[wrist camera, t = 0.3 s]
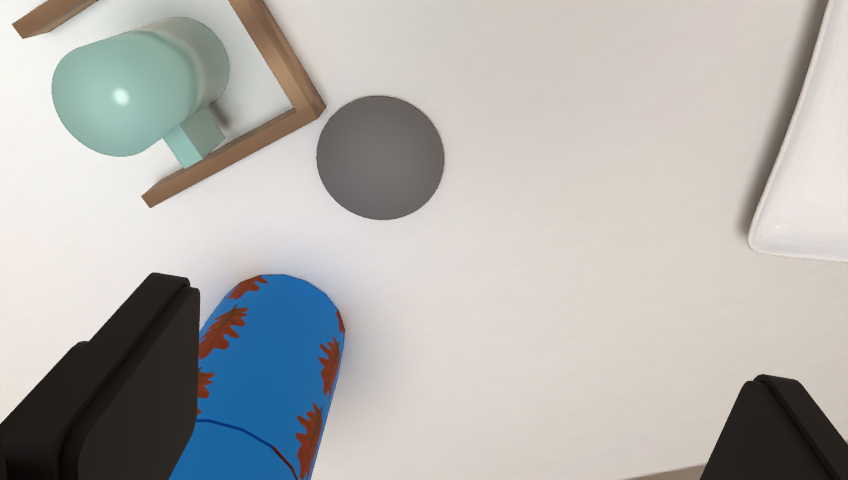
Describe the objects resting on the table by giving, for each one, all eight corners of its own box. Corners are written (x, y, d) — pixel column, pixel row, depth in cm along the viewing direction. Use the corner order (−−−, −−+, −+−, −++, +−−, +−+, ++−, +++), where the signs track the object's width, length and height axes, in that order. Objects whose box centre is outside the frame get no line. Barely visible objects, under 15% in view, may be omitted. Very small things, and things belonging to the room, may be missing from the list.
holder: (39, 18, 44) (11, 24, 42) (207, -93, 41) (189, -94, 38) (167, 192, 49) (150, 208, 47) (326, 106, 46) (317, 118, 43)
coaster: (294, 132, 47) (292, 135, 46) (405, 72, 45) (404, 74, 44) (358, 235, 50) (357, 238, 49) (465, 184, 48) (465, 187, 47)
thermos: (361, 373, 56) (295, 680, 33) (242, 392, 57) (99, 698, 34) (325, 260, 51) (219, 526, 29) (196, 284, 53) (-2, 554, 30)
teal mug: (123, 44, 45) (27, 78, 35) (194, 0, 43) (115, 23, 33) (196, 149, 48) (127, 208, 38) (265, 111, 46) (212, 162, 36)
